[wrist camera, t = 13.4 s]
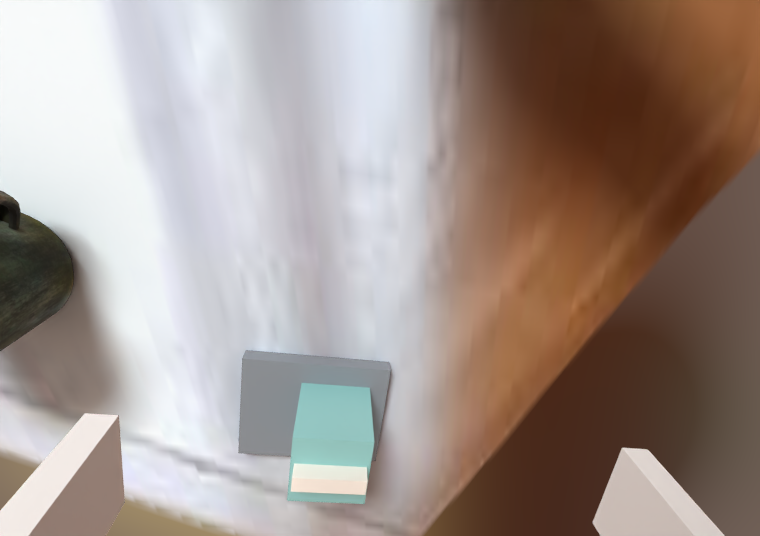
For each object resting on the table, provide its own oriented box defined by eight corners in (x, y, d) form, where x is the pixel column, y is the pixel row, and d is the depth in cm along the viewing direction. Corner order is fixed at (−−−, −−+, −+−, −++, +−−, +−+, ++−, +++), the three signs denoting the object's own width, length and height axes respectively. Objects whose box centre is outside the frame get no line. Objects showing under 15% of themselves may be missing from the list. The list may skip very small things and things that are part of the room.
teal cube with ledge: (296, 438, 44) (284, 515, 36) (301, 382, 42) (290, 451, 33) (361, 442, 45) (365, 519, 36) (369, 387, 43) (375, 455, 34)
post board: (245, 350, 42) (228, 390, 36) (389, 362, 44) (396, 403, 37) (241, 442, 46) (225, 493, 39) (374, 450, 47) (378, 500, 41)
